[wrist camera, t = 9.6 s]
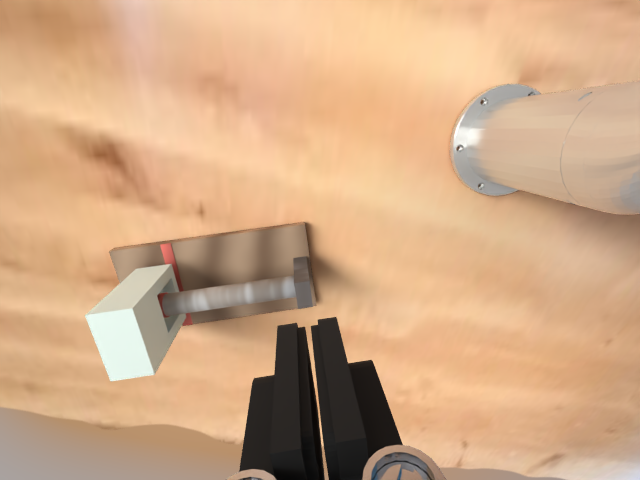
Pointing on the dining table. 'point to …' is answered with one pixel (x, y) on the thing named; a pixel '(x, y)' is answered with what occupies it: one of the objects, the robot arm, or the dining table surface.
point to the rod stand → (229, 272)
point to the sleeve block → (135, 323)
